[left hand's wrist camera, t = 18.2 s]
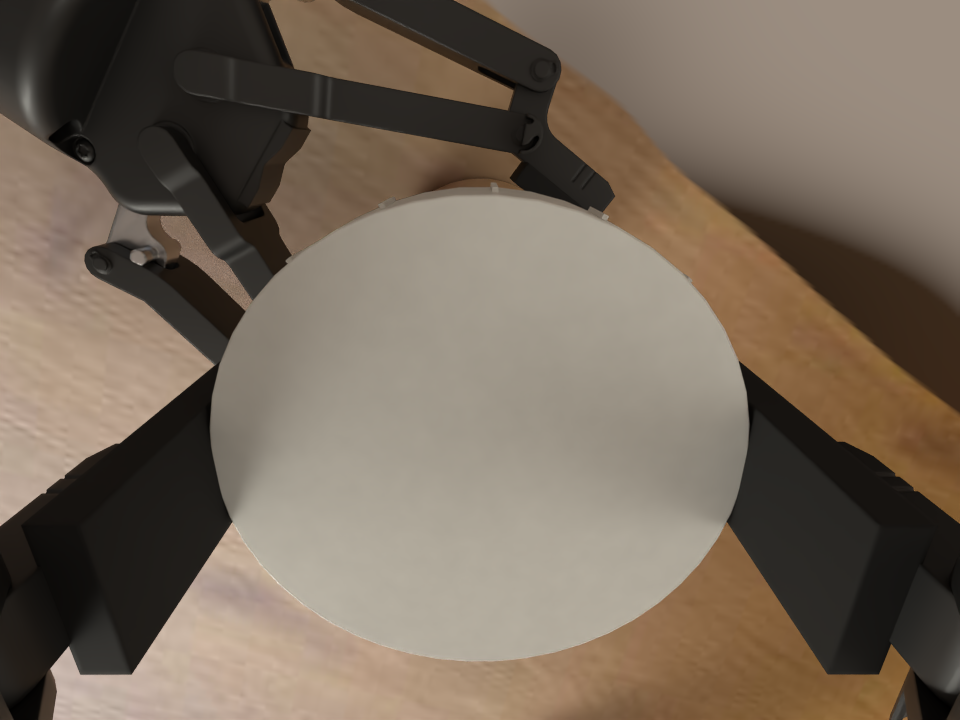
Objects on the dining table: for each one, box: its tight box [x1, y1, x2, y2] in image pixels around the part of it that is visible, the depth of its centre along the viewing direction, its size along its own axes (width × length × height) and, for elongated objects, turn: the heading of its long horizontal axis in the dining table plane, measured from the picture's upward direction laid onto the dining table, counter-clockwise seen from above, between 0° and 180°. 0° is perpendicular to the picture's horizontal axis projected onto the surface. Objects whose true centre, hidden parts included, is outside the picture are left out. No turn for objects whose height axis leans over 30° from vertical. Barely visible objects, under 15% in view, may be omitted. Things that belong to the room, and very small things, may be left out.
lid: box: [210, 183, 750, 661], centre depth 11 cm, size 10×10×2 cm
